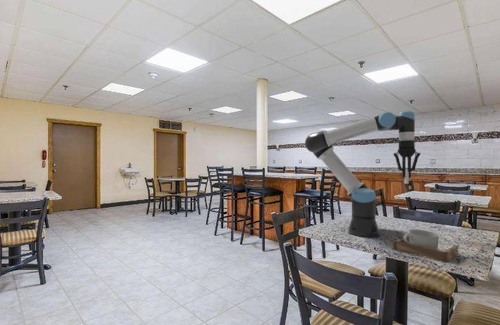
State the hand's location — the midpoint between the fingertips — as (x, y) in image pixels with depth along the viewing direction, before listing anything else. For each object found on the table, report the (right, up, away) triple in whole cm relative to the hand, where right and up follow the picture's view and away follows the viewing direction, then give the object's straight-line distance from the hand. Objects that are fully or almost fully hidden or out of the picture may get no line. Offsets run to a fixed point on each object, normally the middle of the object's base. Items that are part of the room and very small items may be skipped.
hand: (406, 183), depth 145 cm
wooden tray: (-12, -26, -33) cm, 44 cm away
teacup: (-13, -27, -31) cm, 43 cm away
